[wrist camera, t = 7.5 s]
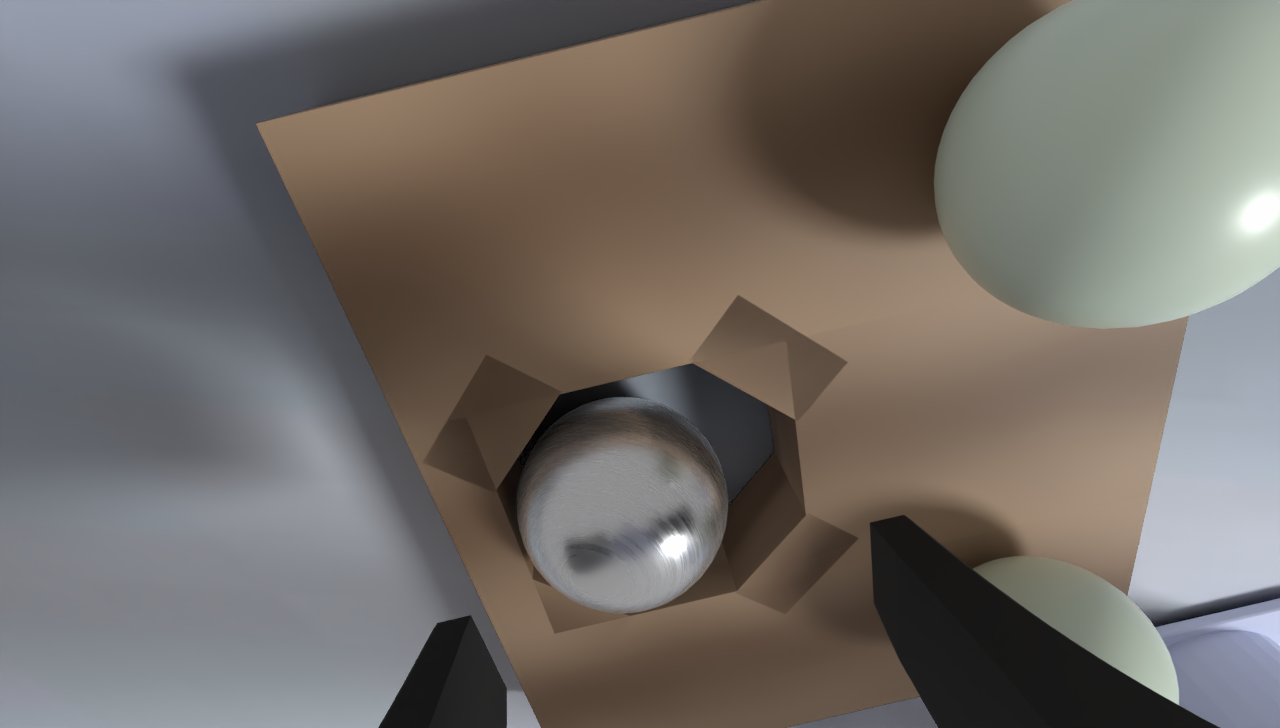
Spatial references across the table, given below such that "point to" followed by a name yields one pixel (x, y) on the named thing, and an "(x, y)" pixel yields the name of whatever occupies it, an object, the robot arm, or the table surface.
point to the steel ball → (622, 505)
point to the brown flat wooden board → (724, 334)
